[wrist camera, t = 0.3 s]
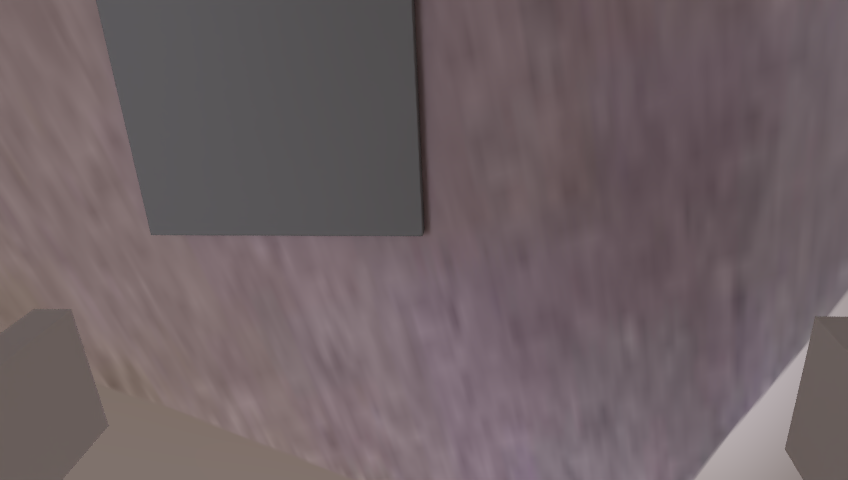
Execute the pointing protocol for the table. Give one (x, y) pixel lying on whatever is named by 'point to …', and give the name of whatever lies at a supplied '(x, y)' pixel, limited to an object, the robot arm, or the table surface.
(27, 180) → the table surface
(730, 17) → the table surface
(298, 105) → the mat
